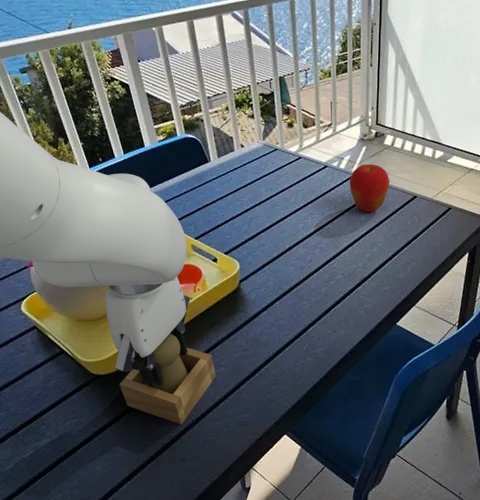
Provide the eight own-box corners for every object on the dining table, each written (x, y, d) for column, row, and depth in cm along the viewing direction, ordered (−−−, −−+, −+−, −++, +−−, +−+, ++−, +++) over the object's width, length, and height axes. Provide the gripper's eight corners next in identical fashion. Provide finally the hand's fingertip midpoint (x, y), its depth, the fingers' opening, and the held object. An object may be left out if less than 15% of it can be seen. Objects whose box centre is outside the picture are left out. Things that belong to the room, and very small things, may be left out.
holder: (181, 424, 72) (175, 403, 69) (127, 405, 74) (119, 384, 72) (216, 376, 79) (211, 354, 76) (165, 360, 82) (159, 339, 79)
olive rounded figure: (189, 370, 80) (176, 321, 74) (197, 398, 76) (184, 349, 69) (149, 382, 78) (133, 333, 71) (155, 412, 74) (138, 362, 67)
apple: (388, 201, 124) (392, 157, 117) (385, 220, 117) (389, 174, 110) (351, 197, 125) (353, 153, 118) (346, 216, 118) (347, 170, 111)
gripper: (155, 228, 70) (178, 321, 81) (61, 306, 57) (104, 404, 68) (201, 240, 68) (219, 333, 79) (115, 322, 55) (150, 421, 66)
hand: (165, 365), depth 73 cm, fingers closed on olive rounded figure, 5 cm apart
